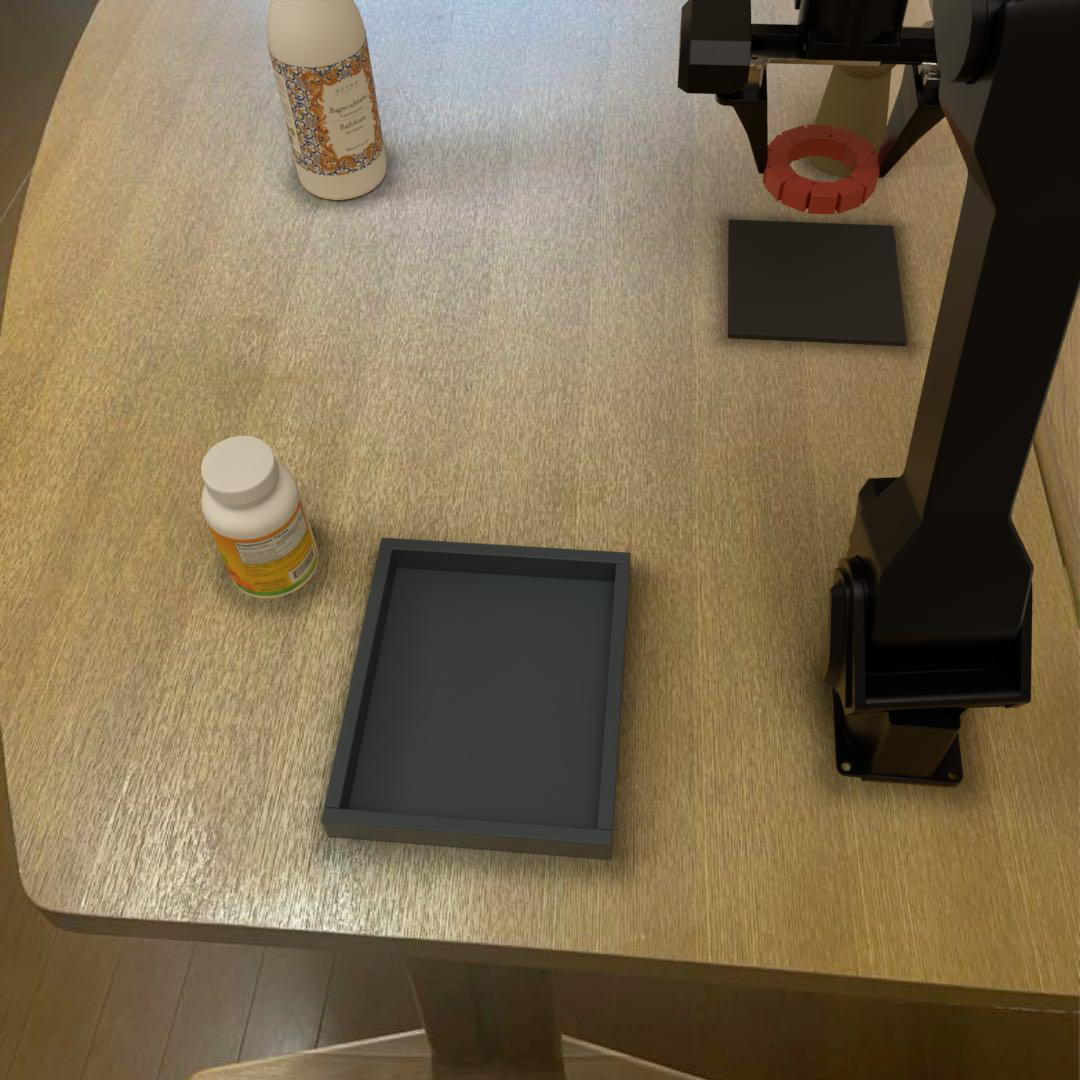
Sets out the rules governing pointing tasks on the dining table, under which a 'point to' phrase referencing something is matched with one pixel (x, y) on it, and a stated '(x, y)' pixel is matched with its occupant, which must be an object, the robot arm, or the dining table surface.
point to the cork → (855, 107)
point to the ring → (821, 193)
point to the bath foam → (327, 95)
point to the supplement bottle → (257, 518)
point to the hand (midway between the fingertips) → (820, 171)
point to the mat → (814, 282)
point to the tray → (485, 700)
